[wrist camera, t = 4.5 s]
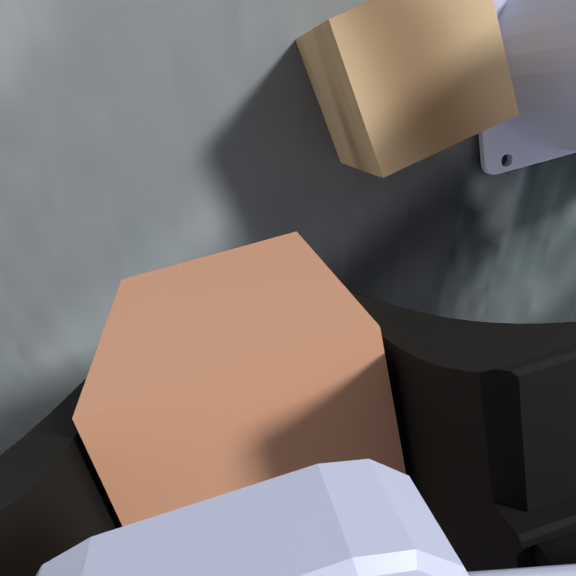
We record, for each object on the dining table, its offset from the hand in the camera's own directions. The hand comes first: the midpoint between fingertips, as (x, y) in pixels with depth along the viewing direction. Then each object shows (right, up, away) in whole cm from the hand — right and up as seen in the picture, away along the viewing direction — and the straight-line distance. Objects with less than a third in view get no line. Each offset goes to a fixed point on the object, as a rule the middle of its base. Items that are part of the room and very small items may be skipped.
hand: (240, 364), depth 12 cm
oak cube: (+5, +10, +9) cm, 14 cm away
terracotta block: (0, +1, +2) cm, 2 cm away
